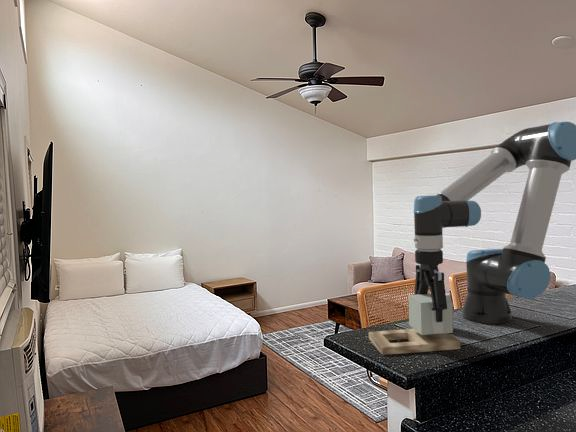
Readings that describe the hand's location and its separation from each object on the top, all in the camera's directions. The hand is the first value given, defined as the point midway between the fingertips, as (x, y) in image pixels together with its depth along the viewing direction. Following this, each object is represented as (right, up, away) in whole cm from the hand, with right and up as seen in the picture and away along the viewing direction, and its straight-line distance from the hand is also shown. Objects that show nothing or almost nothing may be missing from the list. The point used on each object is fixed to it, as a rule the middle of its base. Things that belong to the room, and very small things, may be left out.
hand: (430, 327), depth 120 cm
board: (-5, -5, 0) cm, 7 cm away
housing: (0, 0, 0) cm, 0 cm away
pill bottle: (+8, -4, +11) cm, 14 cm away
